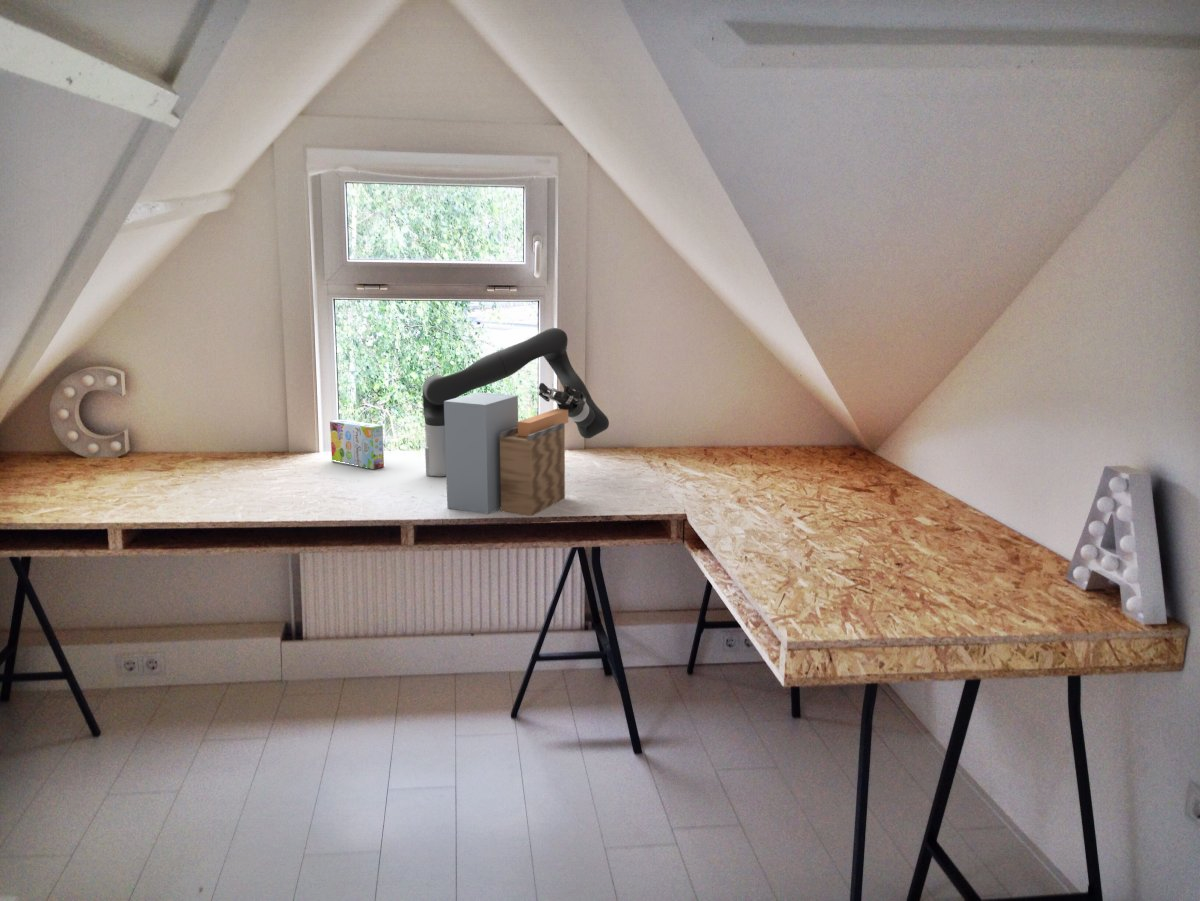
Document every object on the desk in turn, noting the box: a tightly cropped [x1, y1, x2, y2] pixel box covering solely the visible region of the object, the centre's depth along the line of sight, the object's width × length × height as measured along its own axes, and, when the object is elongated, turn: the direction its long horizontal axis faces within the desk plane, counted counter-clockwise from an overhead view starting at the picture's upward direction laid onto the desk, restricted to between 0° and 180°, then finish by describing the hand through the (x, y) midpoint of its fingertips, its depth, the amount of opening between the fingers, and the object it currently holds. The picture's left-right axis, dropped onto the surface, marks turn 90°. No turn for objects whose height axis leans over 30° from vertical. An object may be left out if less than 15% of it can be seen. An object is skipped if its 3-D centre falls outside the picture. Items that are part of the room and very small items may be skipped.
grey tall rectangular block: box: [444, 391, 519, 515], centre depth 279 cm, size 18×14×32 cm
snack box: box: [329, 419, 385, 470], centre depth 329 cm, size 21×6×15 cm, turn 58°
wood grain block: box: [500, 423, 566, 517], centre depth 279 cm, size 21×10×24 cm, turn 155°
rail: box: [518, 408, 569, 436], centre depth 282 cm, size 24×4×4 cm, turn 154°
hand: (553, 386), depth 285 cm, fingers open, 8 cm apart
